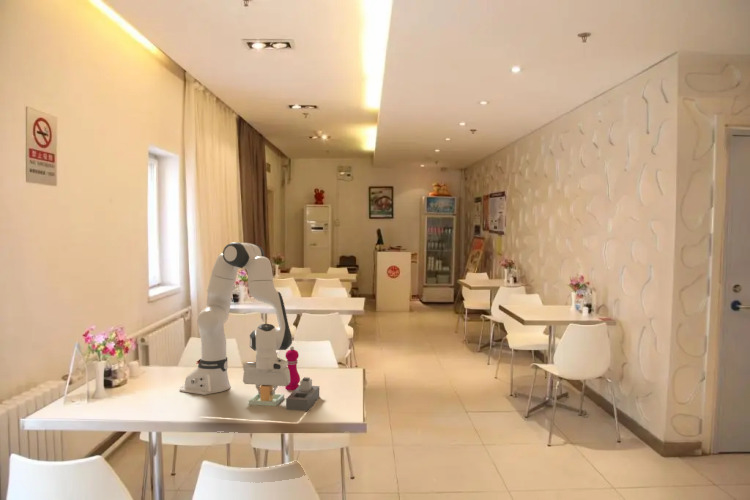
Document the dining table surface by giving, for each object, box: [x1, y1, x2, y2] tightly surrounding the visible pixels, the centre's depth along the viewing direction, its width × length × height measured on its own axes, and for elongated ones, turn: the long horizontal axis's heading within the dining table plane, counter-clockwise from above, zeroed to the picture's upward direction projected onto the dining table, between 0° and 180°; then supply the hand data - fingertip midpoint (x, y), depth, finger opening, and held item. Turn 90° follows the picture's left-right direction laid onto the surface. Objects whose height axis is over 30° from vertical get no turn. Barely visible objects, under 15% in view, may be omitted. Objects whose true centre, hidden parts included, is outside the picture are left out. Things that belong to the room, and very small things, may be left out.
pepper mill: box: [284, 345, 301, 391], centre depth 231 cm, size 7×7×20 cm
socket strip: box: [285, 384, 320, 413], centre depth 212 cm, size 9×18×5 cm, turn 171°
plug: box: [260, 385, 274, 401], centre depth 213 cm, size 4×4×8 cm
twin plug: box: [299, 376, 313, 391], centre depth 216 cm, size 4×4×8 cm
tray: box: [248, 392, 285, 407], centre depth 213 cm, size 12×10×2 cm
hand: (266, 394), depth 213 cm, fingers closed on plug, 4 cm apart
